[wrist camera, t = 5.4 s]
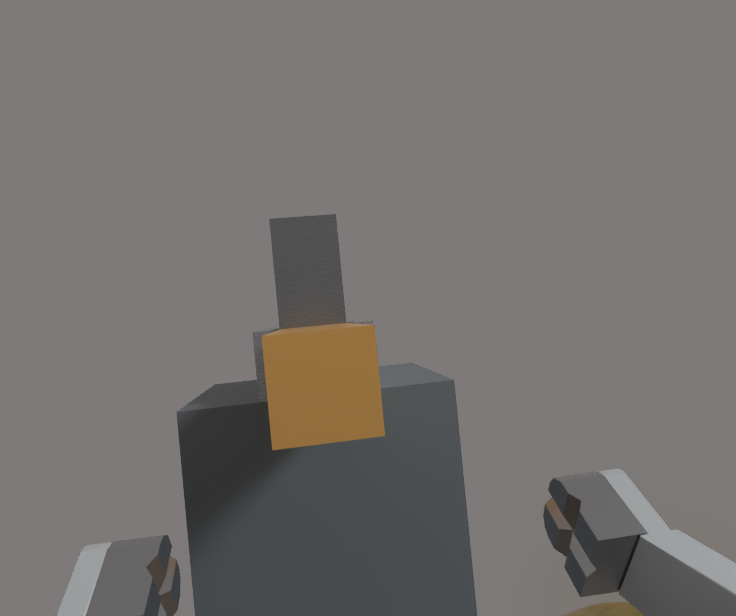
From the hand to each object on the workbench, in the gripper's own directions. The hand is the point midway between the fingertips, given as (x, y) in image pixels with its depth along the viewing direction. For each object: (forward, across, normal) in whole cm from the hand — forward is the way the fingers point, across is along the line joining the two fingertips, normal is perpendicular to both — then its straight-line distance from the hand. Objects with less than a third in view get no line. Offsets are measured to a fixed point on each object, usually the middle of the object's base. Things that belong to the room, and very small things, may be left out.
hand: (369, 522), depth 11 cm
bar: (+10, -1, -5) cm, 11 cm away
